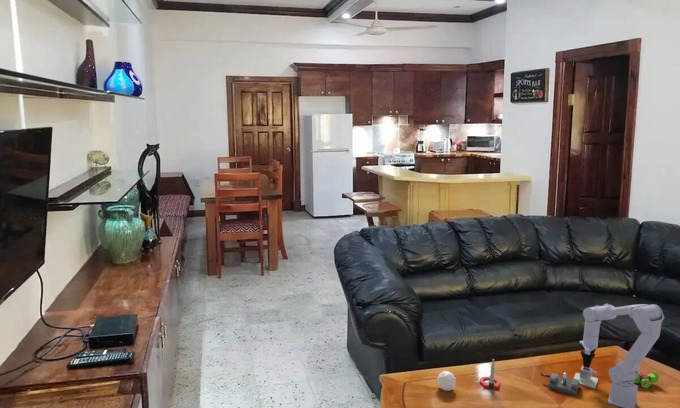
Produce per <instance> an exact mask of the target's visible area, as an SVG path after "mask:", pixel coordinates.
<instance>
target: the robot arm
mask: <svg viewBox="0 0 680 408" xmlns="http://www.w3.org/2000/svg"><path fill="white" fill-rule="evenodd" d="M582 315H583V318H584V329H583V338H582V340H579V344H580V345H582V346H583V348H584V350H583V349H580V355H581V357H582V366H584V367H586V368H591V364H592V361H593V359H594V358H595V356H596V353H595V352H596V350H598V348H599V344H598V343H599V334H600V327H601V324H602V321H607V320H615V319H616V318H617V316H624V315H625V316H626V315H627V316H629V318H630V319H632V320H633V321H634V323H635V325H636V327H637V328H638V331H639V332H641V333H640V335H638V337H637V338H636V340H635V342H634V343H633V344H632V346H631V347H630V349H629V351H628V352H627V353H626V355H625V356H624V358H623V359H622V360H621V361H619V362H617V363H616V364H615V365H614V366H613V367H610V368H609V370H608V373H609V375H608V376H609V378H610V380H611V387H610V392H609V396H608V400H607V404H610V405H613V406H616V407H620V408H636V404H637V401H638V398H637V396H638V389H639V388H638V387H639V385H637V384H636V383H634V380H635V379H637V378H638V372H639V373H640V370H641V368H640V364H641V363H642V361H643V360H644V359H645V357H646V356H647V354H648V353H649V352H650V350H651V349H652V348H653V346H654V345H655V344H656V342H657V340H658V339H659V338H660V336H661V330H662V329H661V328H662V323H663V321H664V319H665V316H664V313H663V310H662V308H661V307H660V306H659V305H657V304H655V303H654V304H653V303H652V304H647V303H646V304H645V303H644V304H643V303H641V304H640V303H639V304H630V305H624V306H617V307H615V306H614V305H612V304H609V303H604V304H603V305H596V304H595V305H594V306H590V307H585V308H584V309H583V312H582Z"/></svg>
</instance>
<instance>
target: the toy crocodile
mask: <svg viewBox="0 0 680 408" xmlns="http://www.w3.org/2000/svg"><path fill="white" fill-rule="evenodd" d="M607 373H608V376H609V372H607ZM659 377H660V375H659V374H658V373H657V372H656V371H655V370H652V372H651V373H646V372H643V371H639V372H638V378H637V379H635V380H634V383H633V384H640V385H641V387H642V388H644V389H649V388H650V387H651V385H652V384H655V383H657V382H658V381H659Z"/></svg>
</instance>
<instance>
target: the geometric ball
mask: <svg viewBox="0 0 680 408" xmlns="http://www.w3.org/2000/svg"><path fill="white" fill-rule="evenodd" d="M456 379H457V378H456V376H455V375H454V374H453V372H451V371H449V370H443V371H441V372H440V373H439V374H438V376H437V378H436V382H437V383H436V384H437V386H438V387H439V388H440V389H441V390H443V391H445V392H450V391H451V390H453V389H455V386H456V384H457V380H456Z"/></svg>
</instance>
